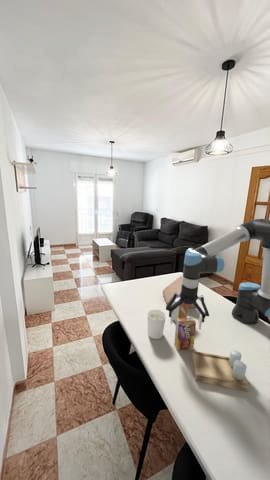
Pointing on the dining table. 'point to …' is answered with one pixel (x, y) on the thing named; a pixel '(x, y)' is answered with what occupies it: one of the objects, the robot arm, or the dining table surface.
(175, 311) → the small box
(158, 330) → the white cream cup
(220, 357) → the tan tray
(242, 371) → the smooth rounded lump
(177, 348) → the candy box
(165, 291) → the case
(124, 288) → the dining table surface
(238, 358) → the white egg
